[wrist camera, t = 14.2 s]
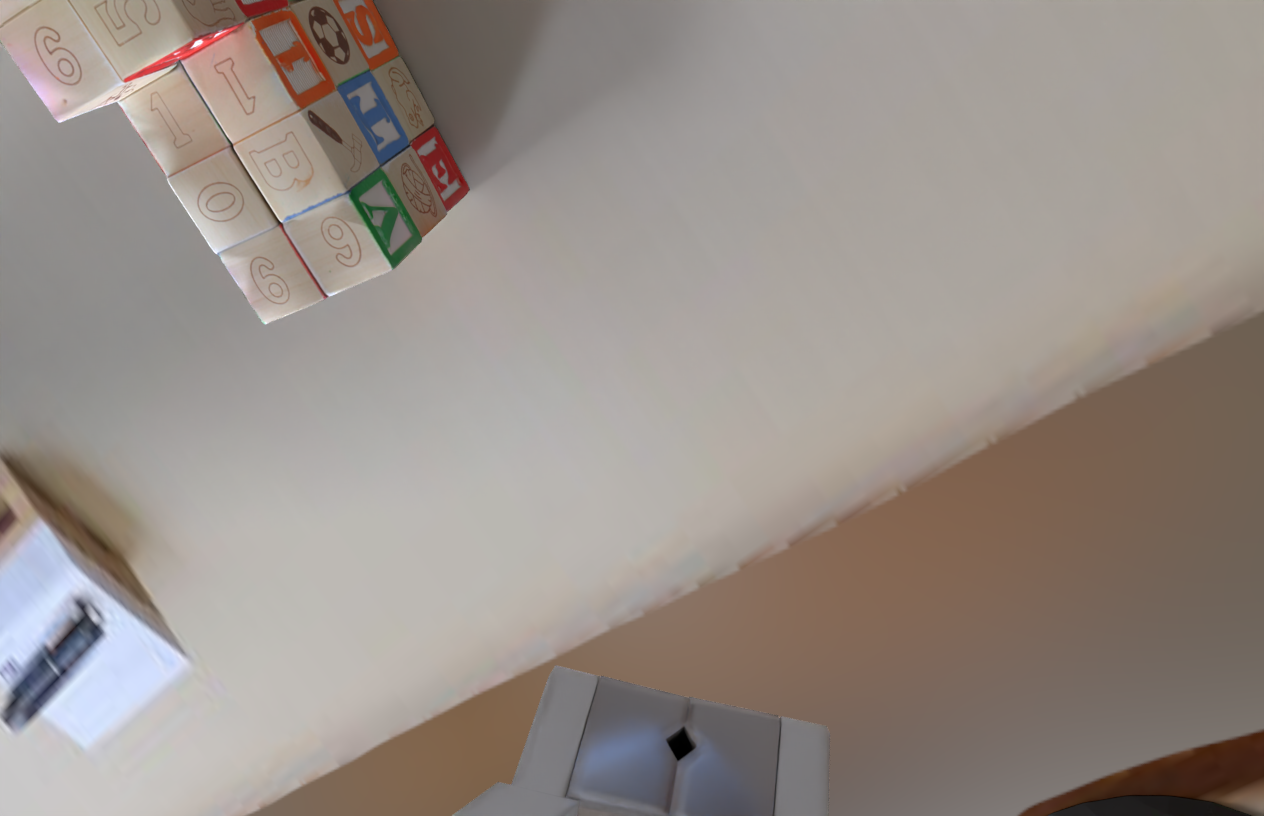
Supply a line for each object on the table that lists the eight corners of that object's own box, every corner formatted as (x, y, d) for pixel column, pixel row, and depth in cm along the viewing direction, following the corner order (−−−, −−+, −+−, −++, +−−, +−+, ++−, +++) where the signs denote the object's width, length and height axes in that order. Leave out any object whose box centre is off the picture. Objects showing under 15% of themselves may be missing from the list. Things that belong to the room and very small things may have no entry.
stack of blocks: (477, 189, 44) (361, 310, 34) (360, 240, 46) (217, 368, 36) (181, -368, 36) (-95, -437, 25) (56, -274, 38) (-245, -301, 28)
